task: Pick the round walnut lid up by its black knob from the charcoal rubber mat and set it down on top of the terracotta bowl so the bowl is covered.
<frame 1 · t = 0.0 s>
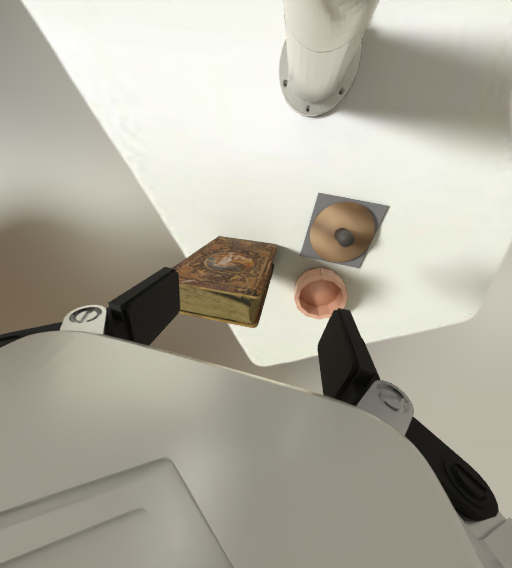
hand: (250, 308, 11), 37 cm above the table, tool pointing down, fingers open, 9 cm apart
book: (244, 250, 49), on the table
mat: (339, 232, 42), on the table
bowl: (318, 288, 50), on the table
lid: (340, 233, 42), point 1 cm above the table, touching mat
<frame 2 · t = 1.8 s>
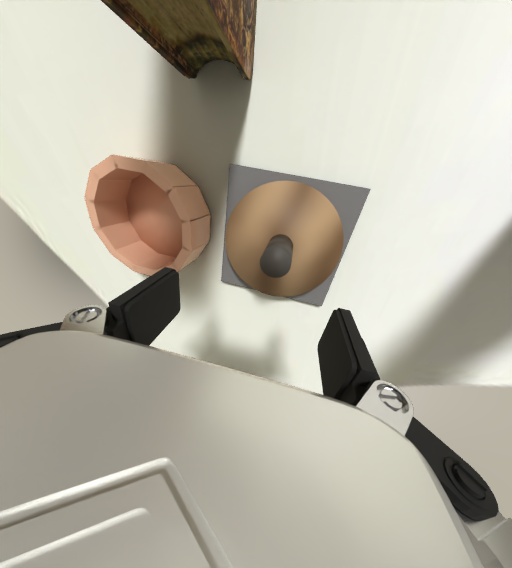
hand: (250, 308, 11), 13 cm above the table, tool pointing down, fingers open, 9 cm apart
mat: (281, 242, 23), on the table
bowl: (167, 217, 24), on the table
lid: (281, 243, 22), point 1 cm above the table, touching mat
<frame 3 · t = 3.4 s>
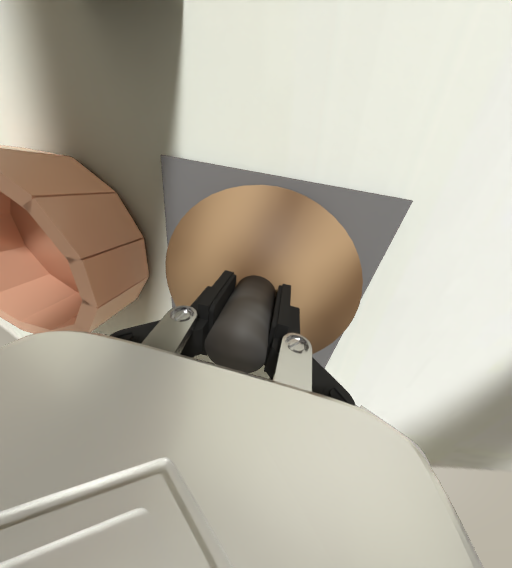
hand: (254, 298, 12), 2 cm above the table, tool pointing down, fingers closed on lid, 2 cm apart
mat: (259, 281, 14), on the table
bowl: (83, 240, 16), on the table
lid: (258, 285, 14), point 1 cm above the table, touching gripper, mat
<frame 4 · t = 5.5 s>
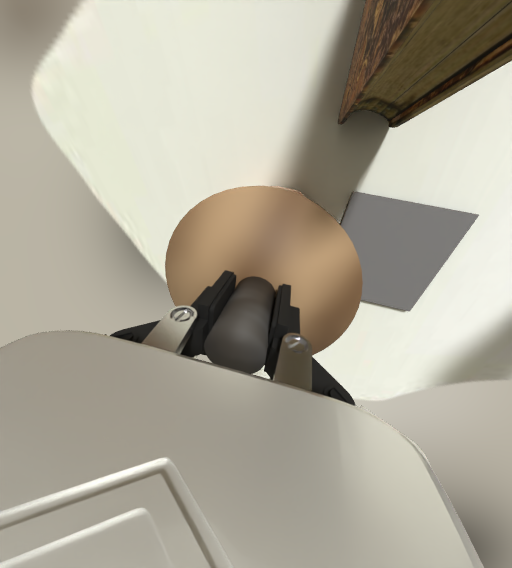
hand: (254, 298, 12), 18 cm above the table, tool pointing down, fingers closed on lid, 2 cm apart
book: (394, 12, 17), on the table
mat: (383, 256, 26), on the table
lid: (258, 286, 14), point 16 cm above the table, touching gripper
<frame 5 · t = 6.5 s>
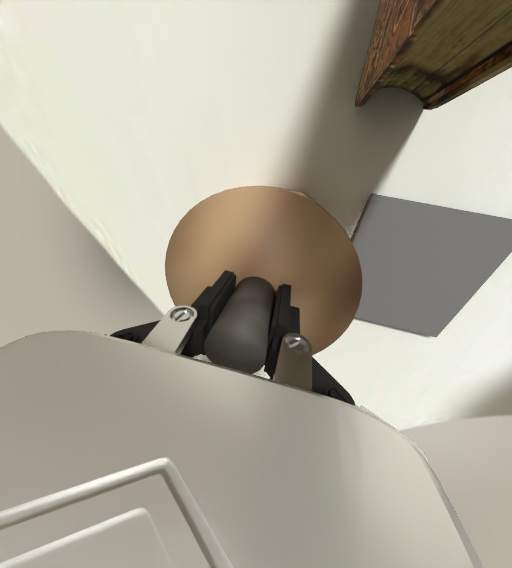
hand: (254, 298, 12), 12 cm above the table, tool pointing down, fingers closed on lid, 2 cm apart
mat: (406, 273, 21), on the table
lid: (258, 286, 14), point 10 cm above the table, touching gripper
when the fingers open (8 cm above the table, at t = 7.4 s): lid drops 2 cm, resting on bowl.
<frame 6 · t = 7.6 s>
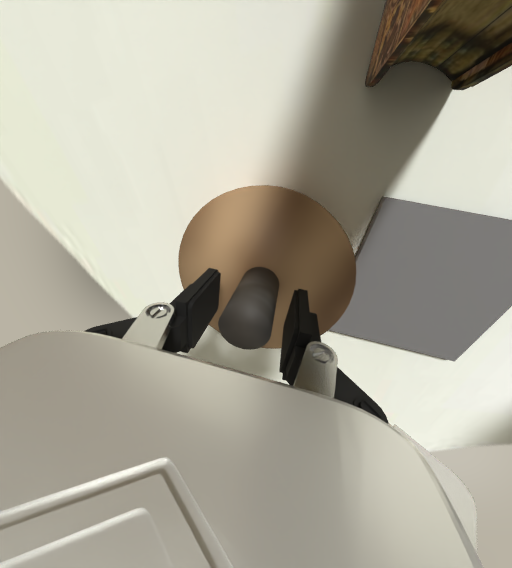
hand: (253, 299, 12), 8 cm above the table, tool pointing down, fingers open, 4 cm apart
mat: (421, 289, 18), on the table
lid: (262, 277, 15), point 5 cm above the table, touching bowl
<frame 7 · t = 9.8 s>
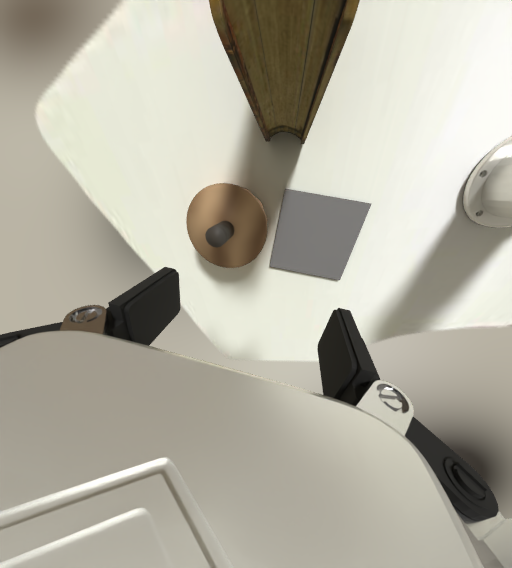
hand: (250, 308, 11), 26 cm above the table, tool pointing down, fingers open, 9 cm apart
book: (294, 69, 25), on the table
mat: (314, 237, 34), on the table
lid: (227, 228, 31), point 5 cm above the table, touching bowl
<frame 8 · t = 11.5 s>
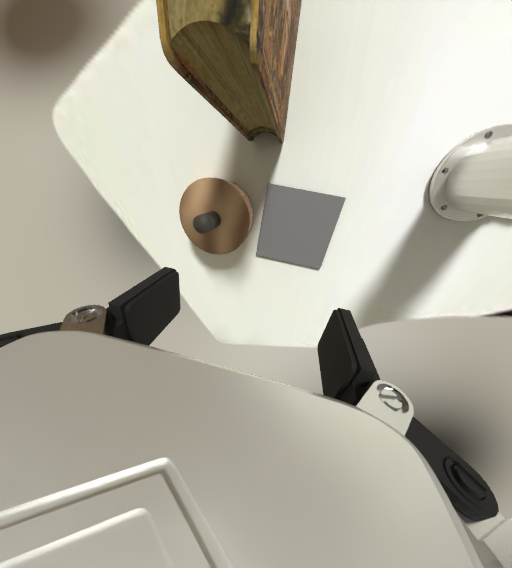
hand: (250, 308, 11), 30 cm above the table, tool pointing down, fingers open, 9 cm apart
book: (273, 77, 28), on the table
mat: (296, 228, 38), on the table
lid: (215, 218, 35), point 5 cm above the table, touching bowl
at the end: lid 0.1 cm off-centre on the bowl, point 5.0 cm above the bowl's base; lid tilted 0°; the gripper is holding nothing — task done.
